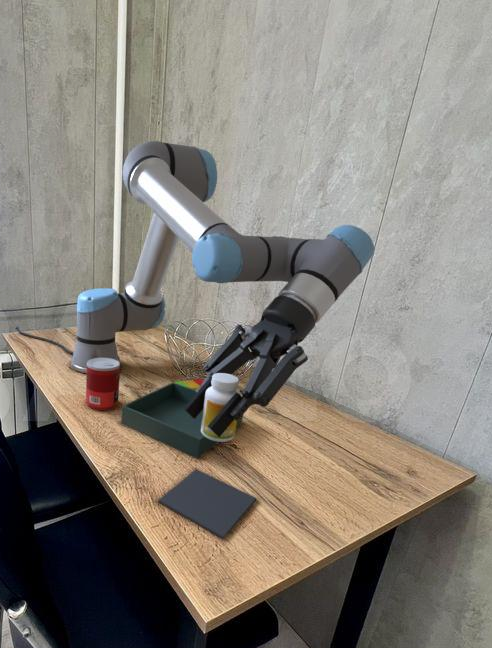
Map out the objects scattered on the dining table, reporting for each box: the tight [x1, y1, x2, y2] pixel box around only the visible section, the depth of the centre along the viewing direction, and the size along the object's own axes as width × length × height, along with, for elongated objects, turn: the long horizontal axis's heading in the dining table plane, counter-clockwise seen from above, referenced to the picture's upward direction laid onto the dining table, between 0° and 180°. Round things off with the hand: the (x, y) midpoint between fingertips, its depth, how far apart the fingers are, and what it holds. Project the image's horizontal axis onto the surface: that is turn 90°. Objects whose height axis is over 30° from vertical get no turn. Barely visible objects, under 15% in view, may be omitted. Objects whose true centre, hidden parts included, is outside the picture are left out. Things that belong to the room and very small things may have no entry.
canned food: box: [85, 358, 121, 411], centre depth 98 cm, size 8×8×11 cm
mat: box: [158, 468, 257, 540], centre depth 67 cm, size 12×12×1 cm
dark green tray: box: [120, 381, 244, 459], centre depth 92 cm, size 20×20×4 cm
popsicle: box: [174, 378, 205, 390], centre depth 110 cm, size 6×15×2 cm, turn 114°
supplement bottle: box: [201, 373, 241, 443], centre depth 62 cm, size 5×5×10 cm
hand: (200, 422), depth 61 cm, fingers closed on supplement bottle, 5 cm apart
